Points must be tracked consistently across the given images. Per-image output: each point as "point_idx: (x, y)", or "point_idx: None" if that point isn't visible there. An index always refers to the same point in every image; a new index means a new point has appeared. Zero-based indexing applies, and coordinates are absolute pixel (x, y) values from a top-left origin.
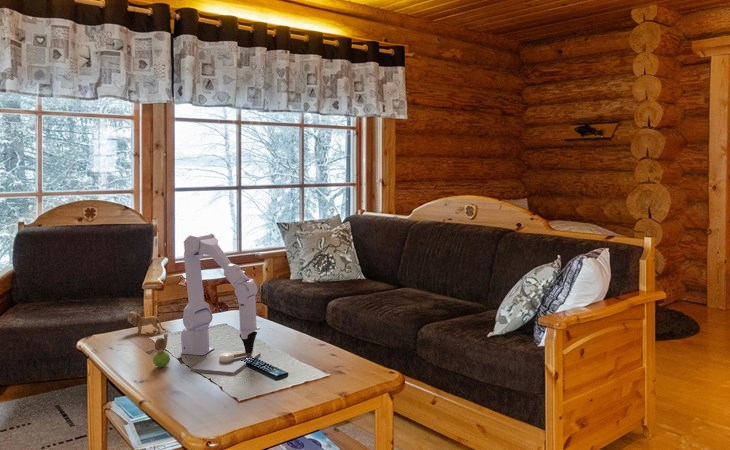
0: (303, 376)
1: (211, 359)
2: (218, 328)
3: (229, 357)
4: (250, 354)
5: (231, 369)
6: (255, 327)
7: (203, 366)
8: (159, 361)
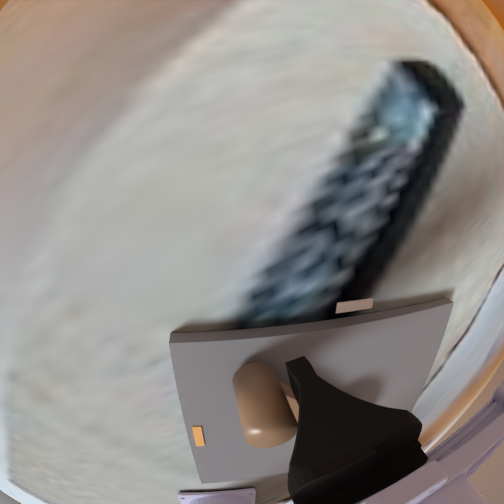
0: (405, 6)
1: None
2: (39, 493)
3: None
4: (267, 368)
5: (429, 330)
6: (436, 499)
7: None
8: None
